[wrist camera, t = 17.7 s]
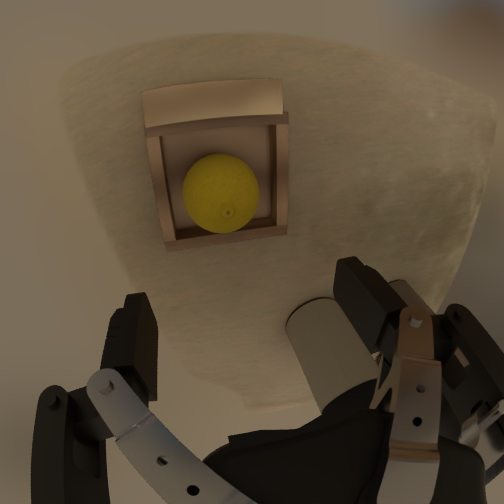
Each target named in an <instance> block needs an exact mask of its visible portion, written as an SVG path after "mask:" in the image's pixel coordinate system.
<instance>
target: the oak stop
mask: <svg viewBox="0 0 504 504" xmlns="http://www.w3.org/2000/svg"><path fill="white" fill-rule="evenodd" d="M142 101H143V111H144V120H145V128H148V127H153V126H159V125H165V124H171V123H178V122H185V121H192V120H200V119H209V118H219V117H231V116H245V115H268V114H283V99H282V79H241V80H222V81H210V82H199V83H190V84H183V85H175V86H169V87H163V88H157V89H151V90H146V91H142Z"/></svg>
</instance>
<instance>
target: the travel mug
mask: <svg viewBox="0 0 504 504" xmlns="http://www.w3.org/2000/svg"><path fill="white" fill-rule="evenodd" d="M286 331H287V334H288V336H289V339H290V341H291V343H292V346H293V348H294V350H295V353H296V355H297V358H298V360H299V362H300V365H301V367H302V369H303V372H304V374H305V376H306V379H307V381H308V384H309V386H310V388H311V391H312V393H313V395H314V398H315V400H316V402H317V405H318V407H319V409H320V412H321V414H324V413H326V412H328V411H331V410H334V409H337V408H340V407H342V406H345V405H348V404H350V403H353V402H355V404H356V406H357V408H358V409H362V408H368V409H369V407H370V404H371V402H372V400H373V397H374V393H375V389H376V383H377V378H378V372H379V367H378V365H377V364H376V362H375V360H374V359H373V357H372V356H371V354H370V352H369V351H368V349H367V348H366V346H365V344H364V343H363V341H362V340H361V338H360V337H359V335H358V334H357V332H356V330H355V329H354V327H353V326H352V324H351V323H350V321H349V320H348V318H347V317H346V315H345V314H344V312H343V311H342V309H341V308H340V306H339V304H338V303H337V302H336V301H334V300H331V299H318V300H314V301H311V302H309V303H307V304H305V305H303V306H302V307H300V308H299V309H298V310H297V311H295V312H294V313H293V315H292V316H291V317H290V319H289V320H288V323H287V326H286Z"/></svg>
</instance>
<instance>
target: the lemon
mask: <svg viewBox="0 0 504 504" xmlns="http://www.w3.org/2000/svg"><path fill="white" fill-rule="evenodd" d="M182 195H183V202H184V205H185V208H186V210H187V212H188V214H189V216H190V217H191V218H192V219H193V220H194V222H195V223H196V224H198V225H199V226H200V227H202V228H203V229H205V230H208V231H211V232H214V233H230V232H233V231H236V230H238V229H240V228H241V227H243V226H245V225H246V224H247V223H248V222H249V221H250V220H251V218H252V217H253V215H254V214H255V212H256V209H257V206H258V203H259V187H258V182H257V179H256V177H255V175H254V173H253V171H252V170H251V169H250V167H249V166H248V165H247V164H246V163H245V162H244V161H242V160H241V159H239V158H237V157H235V156H232V155H229V154H221V153H217V154H211V155H208V156H205V157H203V158H201V159H200V160H198V161H197V162H196V163H195V164H193V166H192V167H191V168H190V170H189V171H188V172H187V175H186V177H185V179H184V182H183V190H182Z"/></svg>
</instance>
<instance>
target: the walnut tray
mask: <svg viewBox="0 0 504 504" xmlns="http://www.w3.org/2000/svg"><path fill="white" fill-rule="evenodd" d="M145 134H146V141H147V149H148V156H149V162H150V169H151V175H152V181H153V187H154V192H155V198H156V203H157V208H158V213H159V218H160V223H161V228H162V233H163V237H164V242H165V246H166V251H167V252H169V251H175V250H182V249H188V248H195V247H202V246H208V245H215V244H222V243H229V242H235V241H242V240H249V239H256V238H263V237H270V236H278V235H285V234H287V221H288V153H289V139H288V112H283V114H268V115H245V116H231V117H219V118H209V119H200V120H192V121H185V122H178V123H171V124H165V125H159V126H153V127H148V128H145ZM217 153H221V154H229V155H232V156H235V157H237V158H239V159H241V160H242V161H244V162H245V163H246V164H247V165H248V166H249V167H250V169H251V170H252V171H253V173H254V175H255V177H256V179H257V182H258V187H259V203H258V206H257V209H256V212H255V214H254V215H253V217H252V218H251V220H250V221H249V222H248V223H247V224H246V225H245V226H243V227H241V228H240V229H238V230H236V231H233V232H230V233H214V232H211V231H208V230H205V229H203V228H202V227H200V226H199V225H198V224H196V223H195V222H194V220H193V219H192V218H191V217H190V216H189V214H188V212H187V210H186V208H185V205H184V202H183V195H182V190H183V182H184V179H185V177H186V175H187V172H188V171H189V170H190V168H191V167H192V166H193V164H195V163H196V162H197V161H198V160H200V159H201V158H203V157H205V156H208V155H211V154H217Z"/></svg>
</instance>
